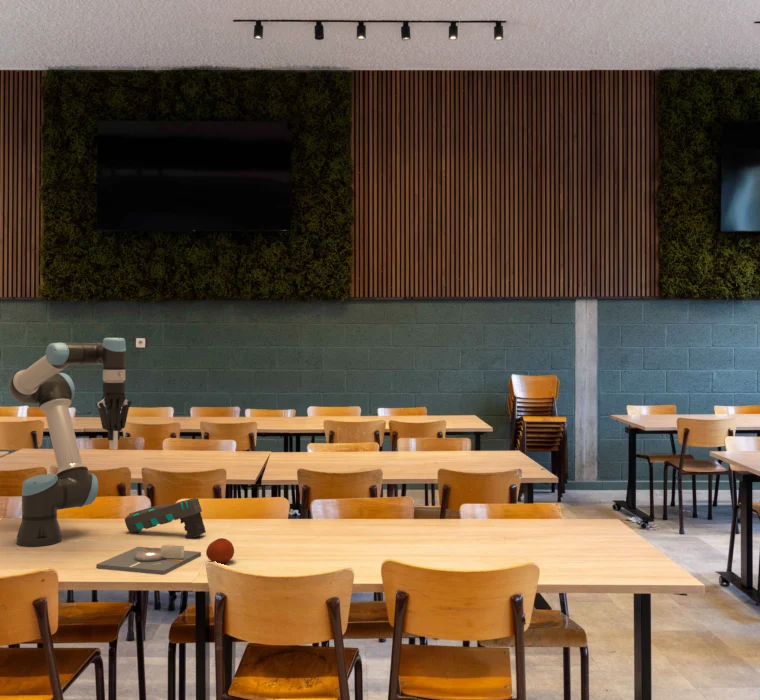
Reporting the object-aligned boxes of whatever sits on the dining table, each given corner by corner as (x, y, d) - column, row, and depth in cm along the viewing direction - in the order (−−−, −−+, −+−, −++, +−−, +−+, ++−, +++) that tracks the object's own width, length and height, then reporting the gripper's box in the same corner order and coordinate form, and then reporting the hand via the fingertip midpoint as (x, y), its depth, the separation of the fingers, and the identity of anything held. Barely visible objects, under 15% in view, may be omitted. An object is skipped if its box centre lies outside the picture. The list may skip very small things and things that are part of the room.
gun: (200, 535, 297) (189, 495, 299) (132, 554, 304) (121, 516, 306) (209, 531, 304) (198, 492, 305) (141, 550, 311) (131, 512, 312)
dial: (129, 561, 262) (129, 548, 262) (141, 553, 272) (141, 541, 272) (177, 563, 261) (177, 550, 261) (188, 555, 271) (188, 543, 271)
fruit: (224, 557, 273) (224, 533, 273) (238, 563, 266) (238, 538, 266) (201, 561, 267) (201, 537, 267) (214, 567, 261) (214, 542, 260)
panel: (96, 568, 258) (96, 563, 258) (138, 550, 282) (138, 546, 282) (163, 574, 252) (163, 570, 252) (200, 555, 275) (200, 551, 275)
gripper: (103, 382, 277) (103, 452, 277) (136, 381, 287) (135, 448, 287) (91, 382, 281) (90, 450, 281) (123, 381, 291) (123, 446, 292)
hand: (113, 449), depth 284 cm, fingers closed
